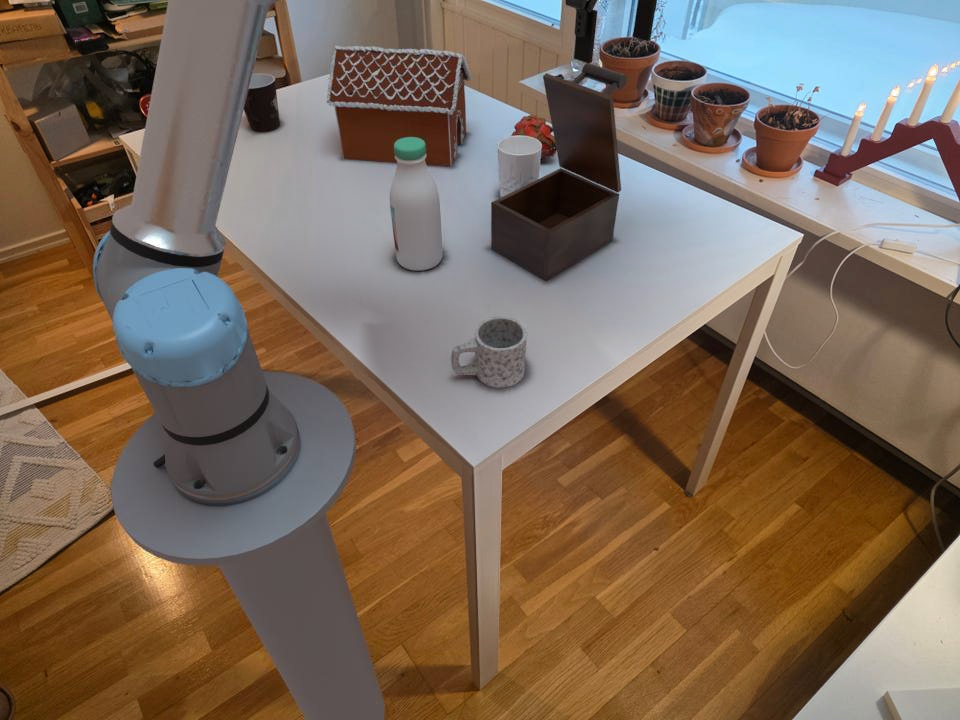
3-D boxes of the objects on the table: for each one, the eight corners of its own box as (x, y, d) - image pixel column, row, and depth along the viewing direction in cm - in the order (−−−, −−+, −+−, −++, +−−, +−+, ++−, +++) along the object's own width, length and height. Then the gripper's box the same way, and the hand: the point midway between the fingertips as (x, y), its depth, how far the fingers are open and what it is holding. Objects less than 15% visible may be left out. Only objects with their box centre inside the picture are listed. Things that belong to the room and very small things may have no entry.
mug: (516, 349, 90) (517, 312, 86) (531, 382, 86) (533, 345, 81) (446, 362, 89) (444, 326, 84) (458, 397, 84) (456, 359, 79)
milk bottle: (452, 254, 108) (446, 138, 94) (424, 277, 103) (414, 159, 89) (415, 240, 111) (405, 127, 97) (386, 262, 106) (371, 146, 93)
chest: (546, 281, 102) (549, 233, 96) (491, 249, 109) (491, 202, 103) (612, 240, 110) (619, 194, 104) (557, 213, 117) (560, 167, 111)
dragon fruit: (516, 150, 139) (553, 178, 133) (493, 137, 132) (531, 167, 126) (538, 114, 136) (577, 141, 130) (516, 99, 129) (556, 128, 123)
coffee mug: (262, 115, 150) (252, 71, 143) (292, 122, 147) (283, 77, 140) (228, 135, 142) (215, 89, 135) (259, 142, 140) (247, 96, 133)
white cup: (547, 195, 122) (551, 144, 115) (518, 211, 118) (520, 159, 111) (517, 181, 126) (518, 131, 119) (488, 195, 122) (488, 145, 115)
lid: (609, 99, 90) (642, 69, 91) (542, 75, 96) (574, 48, 98) (618, 193, 104) (646, 165, 106) (559, 166, 110) (587, 141, 112)
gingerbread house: (457, 171, 129) (453, 67, 115) (333, 161, 133) (315, 59, 119) (474, 131, 142) (472, 34, 129) (361, 124, 146) (347, 28, 132)
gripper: (595, -121, 71) (576, 77, 86) (718, -141, 84) (684, 35, 98) (544, -127, 75) (535, 63, 90) (669, -145, 88) (643, 24, 102)
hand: (613, 49), depth 94 cm, fingers open, 13 cm apart
